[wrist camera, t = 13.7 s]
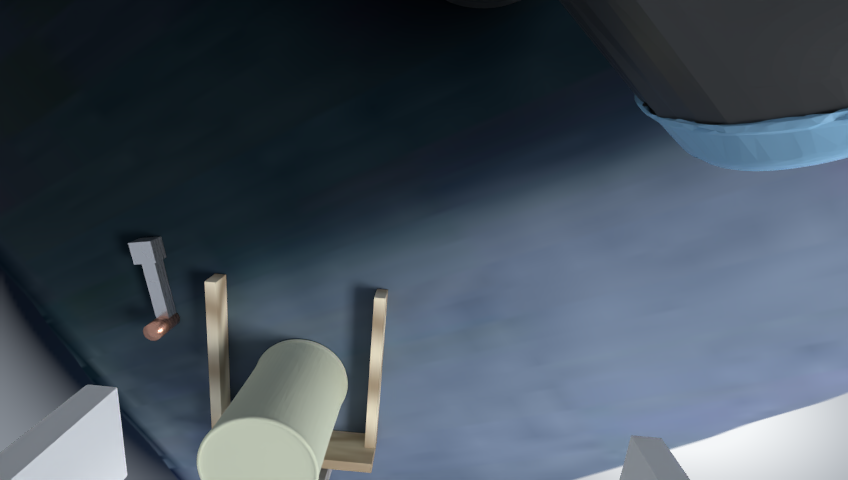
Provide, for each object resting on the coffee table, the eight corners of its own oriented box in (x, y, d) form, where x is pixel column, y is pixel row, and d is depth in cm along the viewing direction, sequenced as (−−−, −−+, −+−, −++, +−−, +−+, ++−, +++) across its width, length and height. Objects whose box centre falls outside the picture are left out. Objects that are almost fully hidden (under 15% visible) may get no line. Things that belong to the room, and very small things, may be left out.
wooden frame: (215, 273, 41) (175, 303, 35) (387, 289, 41) (379, 322, 35) (222, 458, 47) (189, 512, 41) (374, 472, 47) (364, 528, 41)
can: (280, 430, 46) (228, 538, 34) (239, 356, 44) (168, 443, 32) (362, 404, 45) (337, 505, 33) (324, 325, 42) (283, 405, 31)
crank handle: (139, 238, 40) (116, 247, 37) (161, 236, 40) (139, 245, 37) (163, 326, 43) (143, 341, 40) (183, 324, 43) (165, 340, 40)
